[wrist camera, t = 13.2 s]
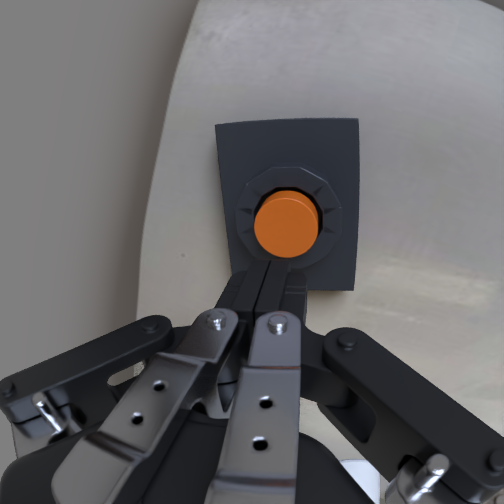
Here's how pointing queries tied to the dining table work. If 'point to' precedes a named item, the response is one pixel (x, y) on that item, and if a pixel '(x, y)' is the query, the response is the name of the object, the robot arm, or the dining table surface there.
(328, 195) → the button base
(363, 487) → the mug
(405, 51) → the dining table surface
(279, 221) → the button
